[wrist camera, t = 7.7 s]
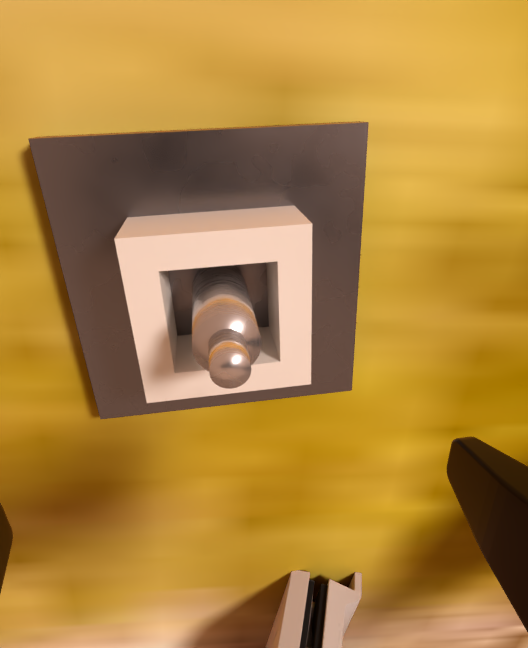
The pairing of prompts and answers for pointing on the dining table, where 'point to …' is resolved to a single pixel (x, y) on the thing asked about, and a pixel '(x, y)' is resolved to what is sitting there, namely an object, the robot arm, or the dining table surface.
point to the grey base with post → (210, 282)
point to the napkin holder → (314, 613)
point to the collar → (211, 251)
